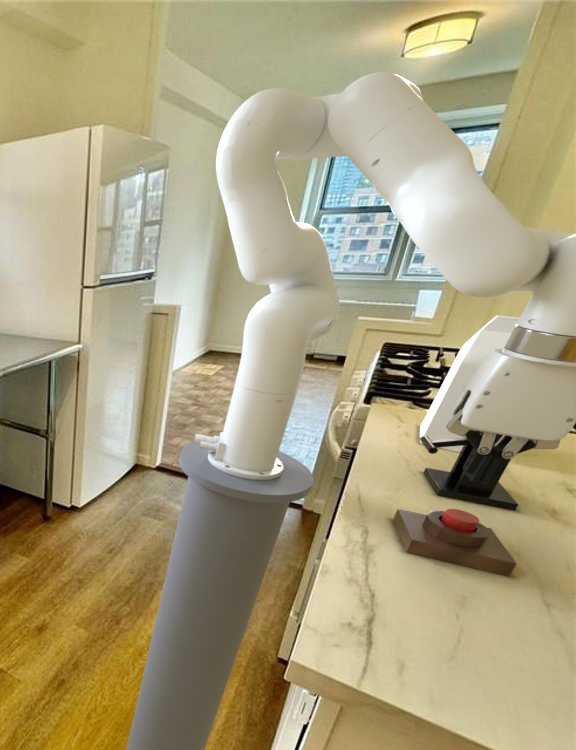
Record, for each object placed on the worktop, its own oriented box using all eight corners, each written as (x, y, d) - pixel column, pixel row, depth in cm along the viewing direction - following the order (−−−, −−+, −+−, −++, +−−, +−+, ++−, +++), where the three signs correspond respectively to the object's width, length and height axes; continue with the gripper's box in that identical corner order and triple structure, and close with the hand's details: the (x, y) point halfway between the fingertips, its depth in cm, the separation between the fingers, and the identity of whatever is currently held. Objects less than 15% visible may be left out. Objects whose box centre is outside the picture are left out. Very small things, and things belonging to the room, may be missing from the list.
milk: (419, 443, 102) (477, 318, 90) (420, 426, 110) (472, 309, 98) (498, 460, 95) (572, 327, 83) (492, 441, 103) (559, 317, 91)
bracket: (436, 495, 83) (468, 433, 78) (422, 473, 90) (450, 414, 85) (515, 510, 79) (553, 445, 74) (494, 485, 86) (527, 425, 81)
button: (444, 528, 68) (449, 518, 67) (436, 516, 71) (442, 506, 70) (478, 536, 67) (483, 525, 66) (468, 522, 69) (474, 512, 69)
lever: (428, 457, 83) (428, 444, 82) (420, 445, 87) (419, 432, 87) (512, 451, 77) (512, 437, 77) (498, 438, 82) (498, 425, 81)
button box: (406, 552, 69) (417, 529, 67) (392, 520, 76) (402, 498, 74) (509, 576, 64) (524, 552, 63) (484, 540, 72) (497, 518, 70)
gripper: (622, 347, 57) (536, 480, 66) (460, 331, 63) (400, 454, 72) (664, 364, 51) (564, 507, 60) (481, 344, 57) (413, 476, 66)
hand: (475, 478), depth 66 cm, fingers closed
